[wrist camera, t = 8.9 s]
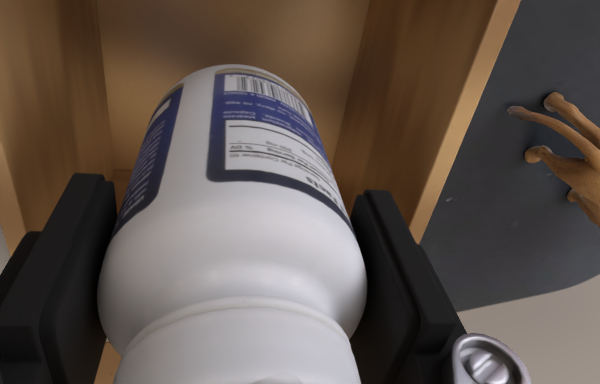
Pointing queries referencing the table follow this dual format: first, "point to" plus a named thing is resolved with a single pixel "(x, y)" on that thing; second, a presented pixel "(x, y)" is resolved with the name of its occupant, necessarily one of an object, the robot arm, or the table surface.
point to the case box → (244, 51)
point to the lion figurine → (574, 171)
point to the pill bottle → (232, 243)
